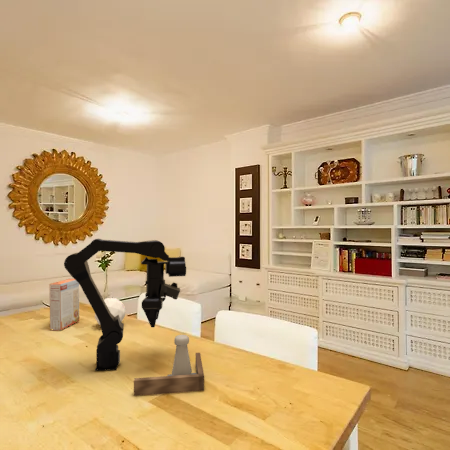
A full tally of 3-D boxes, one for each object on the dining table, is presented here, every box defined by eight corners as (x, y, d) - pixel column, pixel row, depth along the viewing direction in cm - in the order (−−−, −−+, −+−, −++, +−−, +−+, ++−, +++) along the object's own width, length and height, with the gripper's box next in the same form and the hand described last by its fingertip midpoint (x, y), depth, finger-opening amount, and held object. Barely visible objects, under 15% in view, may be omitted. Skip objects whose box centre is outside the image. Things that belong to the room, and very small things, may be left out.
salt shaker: (194, 376, 96) (194, 333, 96) (187, 386, 90) (187, 340, 91) (176, 374, 97) (176, 332, 97) (168, 383, 92) (168, 338, 92)
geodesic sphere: (83, 314, 147) (94, 292, 142) (109, 307, 158) (120, 287, 154) (98, 337, 140) (110, 315, 136) (124, 329, 152) (135, 309, 147)
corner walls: (133, 395, 86) (133, 380, 86) (141, 368, 103) (141, 355, 103) (204, 390, 89) (204, 376, 89) (200, 364, 106) (200, 352, 106)
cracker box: (68, 321, 155) (68, 278, 155) (79, 321, 154) (80, 278, 154) (48, 330, 141) (48, 283, 141) (61, 331, 140) (61, 283, 140)
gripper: (177, 281, 100) (177, 331, 100) (180, 273, 119) (179, 315, 119) (141, 281, 99) (141, 332, 99) (149, 273, 118) (149, 315, 118)
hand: (154, 323), depth 109 cm, fingers open, 9 cm apart
